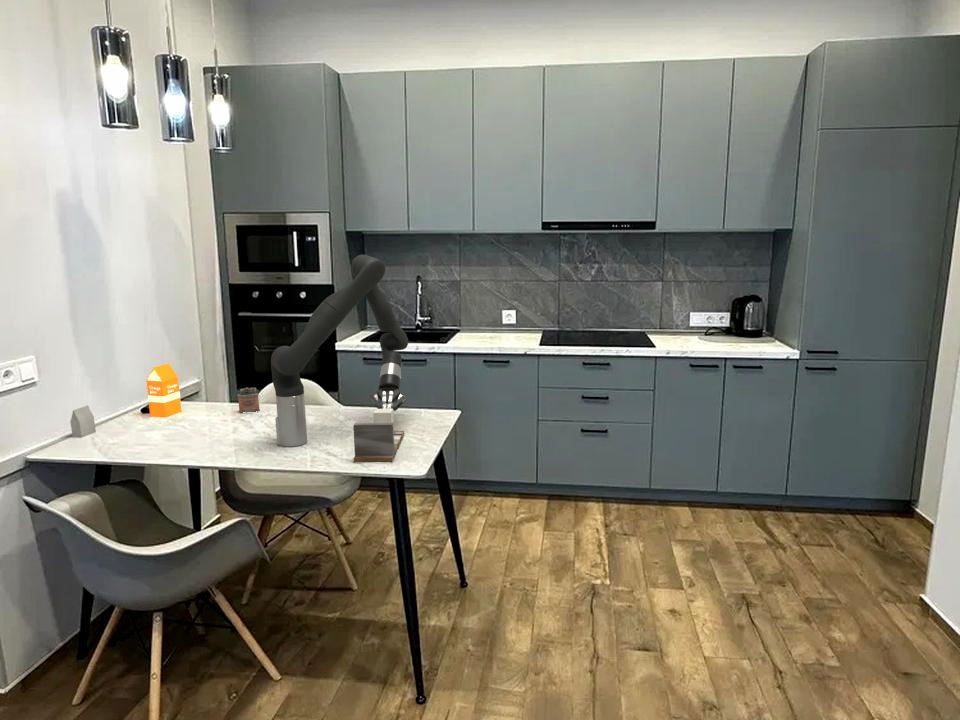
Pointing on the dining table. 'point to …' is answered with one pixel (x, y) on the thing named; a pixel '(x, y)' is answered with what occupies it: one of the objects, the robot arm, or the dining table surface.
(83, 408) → the grey house block
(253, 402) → the red container
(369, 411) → the dining table surface
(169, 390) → the orange juice
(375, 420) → the block
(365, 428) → the base
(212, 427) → the dining table surface
